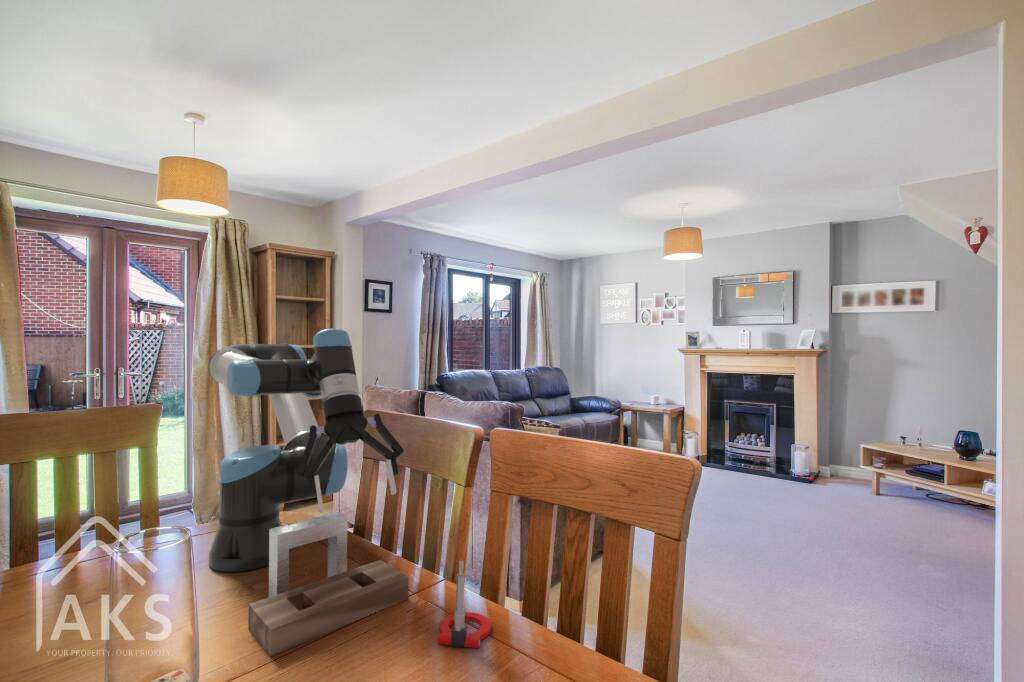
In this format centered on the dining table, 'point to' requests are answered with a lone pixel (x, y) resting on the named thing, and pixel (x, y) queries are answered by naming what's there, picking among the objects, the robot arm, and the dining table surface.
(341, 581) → the slotted wooden block
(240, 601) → the dining table surface
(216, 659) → the dining table surface
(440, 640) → the tow hook
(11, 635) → the dining table surface
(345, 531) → the clip
